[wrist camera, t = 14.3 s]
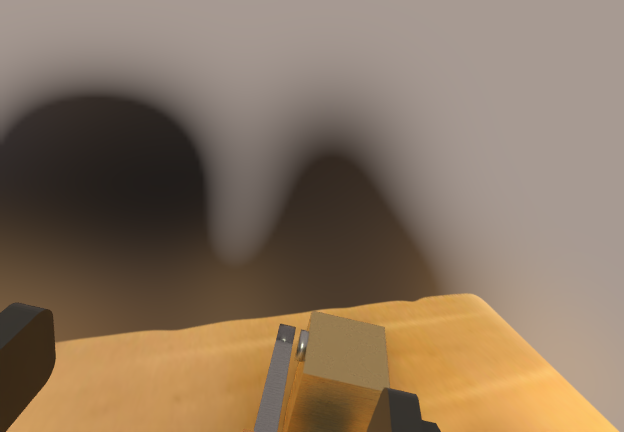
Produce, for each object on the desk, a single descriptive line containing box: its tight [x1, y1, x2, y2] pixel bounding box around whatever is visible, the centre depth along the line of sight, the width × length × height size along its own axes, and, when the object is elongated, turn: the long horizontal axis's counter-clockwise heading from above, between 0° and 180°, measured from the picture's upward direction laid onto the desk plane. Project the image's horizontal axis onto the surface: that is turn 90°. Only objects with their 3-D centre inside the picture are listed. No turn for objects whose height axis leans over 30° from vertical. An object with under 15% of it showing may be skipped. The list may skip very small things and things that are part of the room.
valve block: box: [283, 311, 390, 432], centre depth 46 cm, size 9×21×16 cm, turn 174°
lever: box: [243, 324, 296, 432], centre depth 35 cm, size 3×3×22 cm
